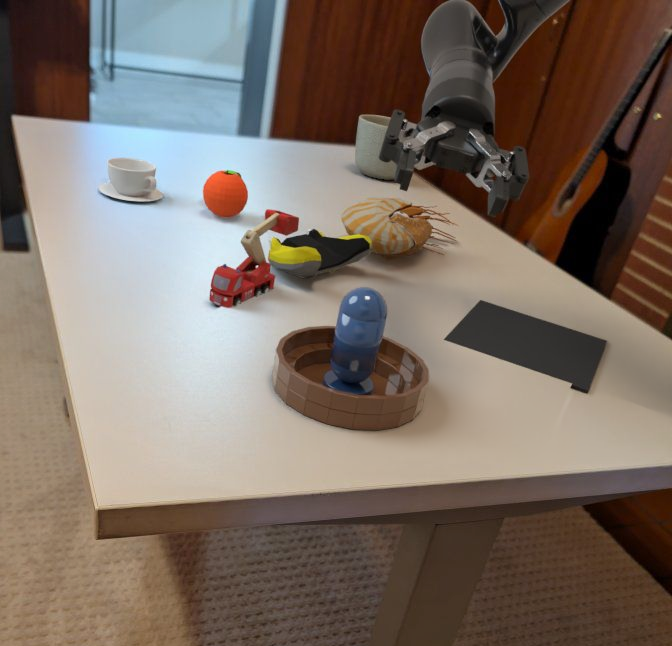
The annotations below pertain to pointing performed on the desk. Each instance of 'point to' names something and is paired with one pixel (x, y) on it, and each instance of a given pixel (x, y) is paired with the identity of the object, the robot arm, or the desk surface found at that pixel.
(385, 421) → the bowl
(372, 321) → the blue pill figure
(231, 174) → the clementine
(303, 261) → the black yellow sneaker
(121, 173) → the teacup
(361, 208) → the nautilus shell
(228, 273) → the toy fire truck
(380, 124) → the planter
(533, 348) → the mat
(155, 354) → the desk surface
